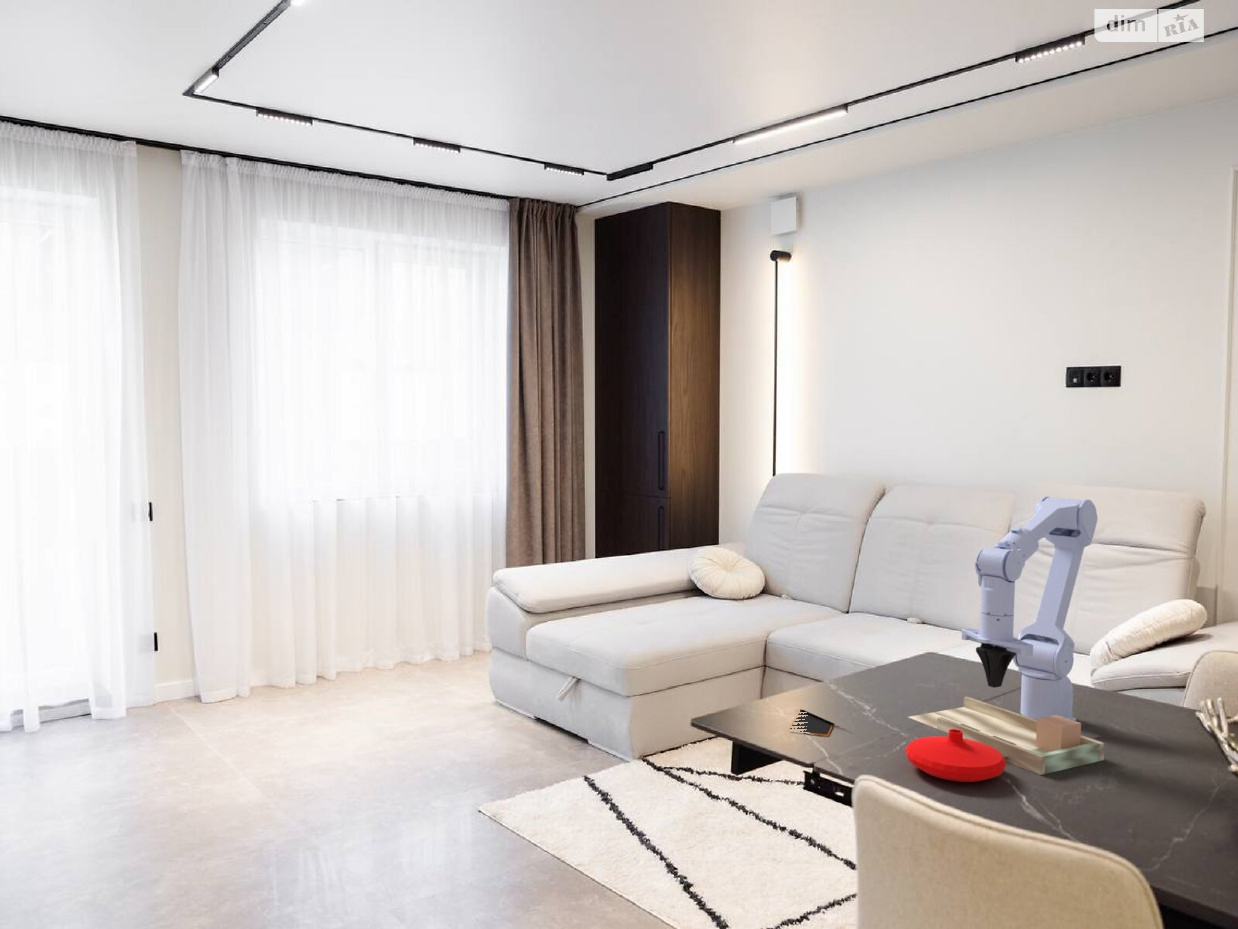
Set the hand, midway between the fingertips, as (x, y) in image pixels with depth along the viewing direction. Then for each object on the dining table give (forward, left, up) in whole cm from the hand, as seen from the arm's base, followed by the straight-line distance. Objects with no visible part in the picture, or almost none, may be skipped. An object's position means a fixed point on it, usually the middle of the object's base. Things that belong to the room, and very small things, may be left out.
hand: (994, 686), depth 173 cm
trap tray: (0, +2, -9) cm, 10 cm away
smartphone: (+24, -21, -10) cm, 34 cm away
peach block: (-3, +12, -8) cm, 15 cm away
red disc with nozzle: (+20, +10, -10) cm, 25 cm away
